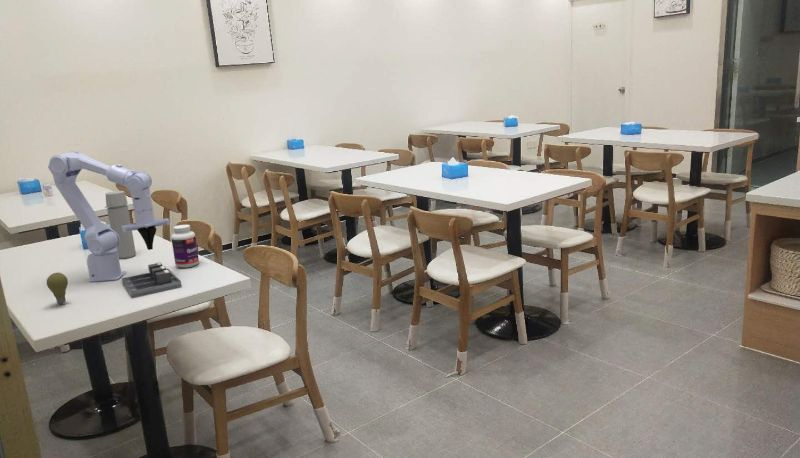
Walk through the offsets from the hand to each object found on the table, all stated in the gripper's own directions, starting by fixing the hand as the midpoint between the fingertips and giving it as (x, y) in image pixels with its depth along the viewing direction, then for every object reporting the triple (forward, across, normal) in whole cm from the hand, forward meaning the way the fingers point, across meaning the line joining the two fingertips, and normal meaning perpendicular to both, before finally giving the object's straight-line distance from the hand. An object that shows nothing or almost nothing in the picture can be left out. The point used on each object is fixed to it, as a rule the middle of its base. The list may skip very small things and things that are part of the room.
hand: (150, 249), depth 204 cm
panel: (+10, -3, -9) cm, 14 cm away
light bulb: (+10, -29, -8) cm, 31 cm away
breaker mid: (+9, 0, -9) cm, 12 cm away
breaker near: (+9, 0, -14) cm, 17 cm away
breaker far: (+9, 0, -3) cm, 9 cm away
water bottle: (+10, -4, +36) cm, 37 cm away
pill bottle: (+10, +12, +6) cm, 17 cm away
